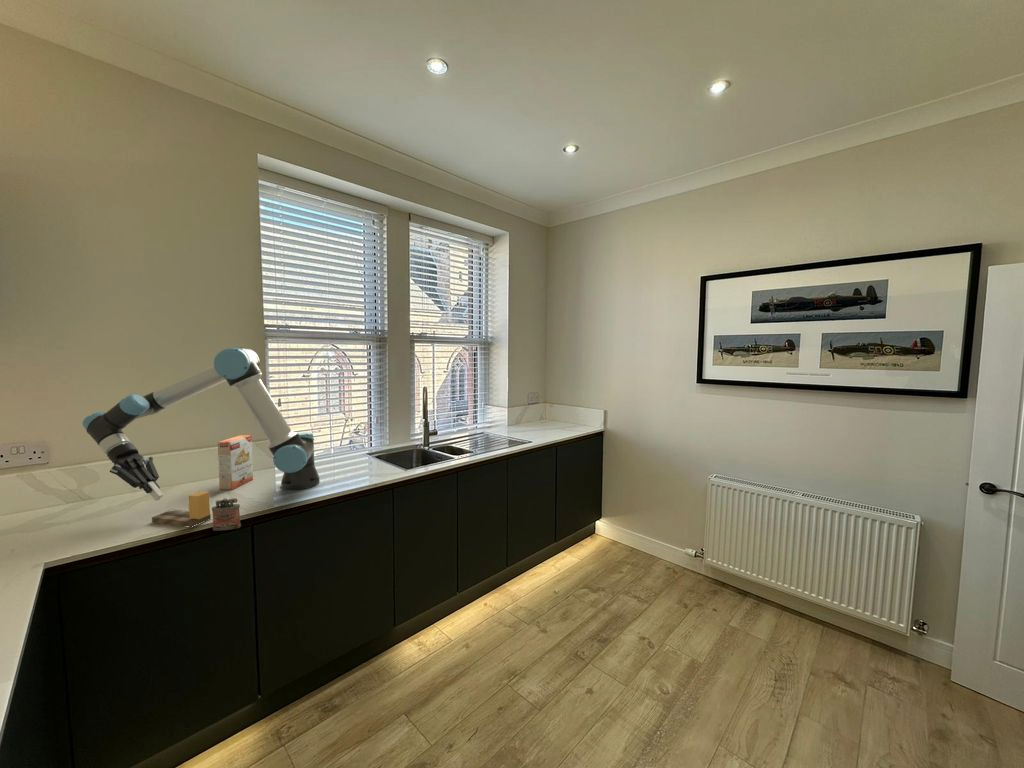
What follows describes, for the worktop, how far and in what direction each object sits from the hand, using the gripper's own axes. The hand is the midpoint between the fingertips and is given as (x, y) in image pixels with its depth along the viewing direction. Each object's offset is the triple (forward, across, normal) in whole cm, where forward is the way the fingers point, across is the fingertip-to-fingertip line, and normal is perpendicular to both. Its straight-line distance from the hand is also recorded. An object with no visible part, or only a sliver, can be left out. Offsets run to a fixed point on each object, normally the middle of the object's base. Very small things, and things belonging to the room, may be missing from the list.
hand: (159, 497), depth 144 cm
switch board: (+12, 0, +1) cm, 12 cm away
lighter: (+26, +1, +15) cm, 30 cm away
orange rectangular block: (+16, 0, +9) cm, 18 cm away
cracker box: (+2, -36, -9) cm, 37 cm away
